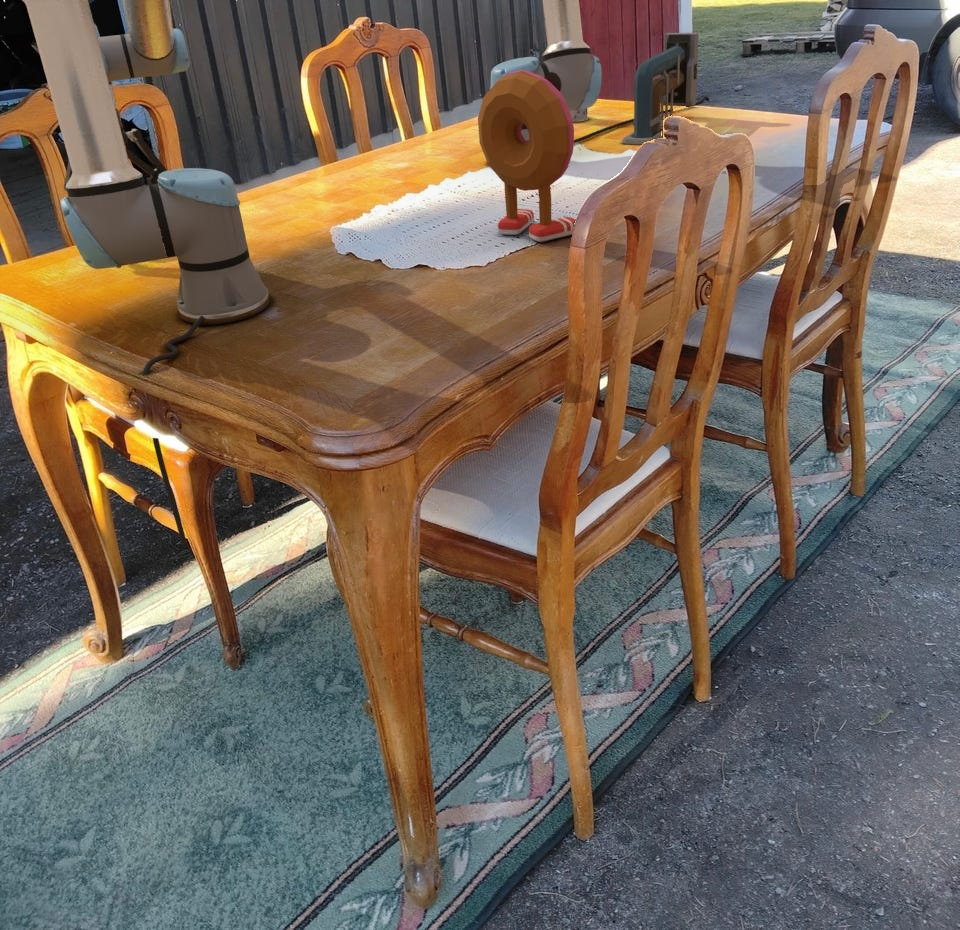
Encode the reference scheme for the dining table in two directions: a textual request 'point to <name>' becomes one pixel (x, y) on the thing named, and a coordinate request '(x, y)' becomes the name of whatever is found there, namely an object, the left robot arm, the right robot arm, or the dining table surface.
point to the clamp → (664, 85)
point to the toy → (528, 147)
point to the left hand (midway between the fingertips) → (126, 217)
